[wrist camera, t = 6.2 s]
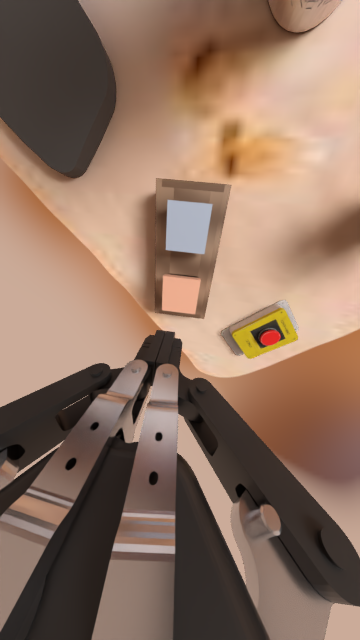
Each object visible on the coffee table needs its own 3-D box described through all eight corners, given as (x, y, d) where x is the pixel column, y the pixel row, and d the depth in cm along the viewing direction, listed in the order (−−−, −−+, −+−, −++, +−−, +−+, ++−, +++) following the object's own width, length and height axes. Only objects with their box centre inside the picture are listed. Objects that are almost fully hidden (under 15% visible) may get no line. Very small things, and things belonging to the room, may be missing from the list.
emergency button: (312, 340, 28) (241, 367, 33) (298, 328, 32) (236, 355, 37) (297, 305, 25) (222, 341, 30) (283, 297, 29) (219, 330, 34)
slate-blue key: (172, 207, 21) (167, 199, 17) (209, 211, 21) (212, 204, 17) (170, 249, 24) (165, 250, 20) (202, 252, 23) (204, 254, 20)
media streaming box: (129, 86, 18) (117, 59, 15) (79, 192, 23) (64, 185, 21) (12, -88, 13) (-33, -168, 11) (-15, 92, 19) (-48, 68, 17)
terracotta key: (168, 271, 24) (163, 275, 20) (199, 274, 24) (200, 280, 20) (166, 301, 27) (161, 310, 23) (195, 304, 27) (195, 314, 23)
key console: (162, 188, 22) (156, 178, 18) (225, 194, 21) (231, 184, 18) (159, 305, 32) (155, 312, 28) (203, 310, 31) (204, 318, 28)
